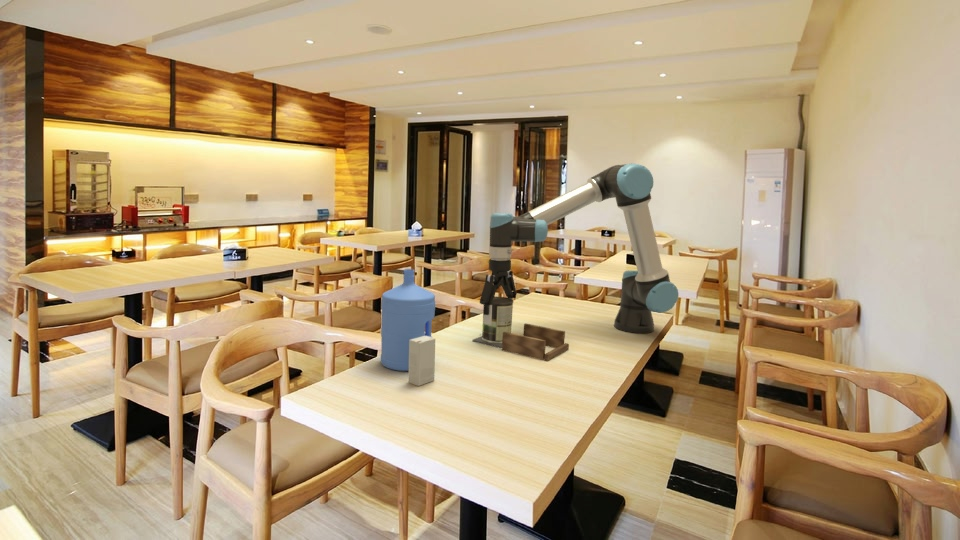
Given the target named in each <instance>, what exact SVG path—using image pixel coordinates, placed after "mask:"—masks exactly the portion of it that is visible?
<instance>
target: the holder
mask: <svg viewBox="0 0 960 540" xmlns="http://www.w3.org/2000/svg"><path fill="white" fill-rule="evenodd" d="M565 336H566V331H565V330H560V329H557V328H556V329H555V328H550V327H545V326H540V325H535V324H532V323H531V324H530V323H524V324H523V335H522V334H516V333H512V332H511V333H508V332H503V339H502V348H501V350H502V351H503V350H504V351H505V352H507V351H508V352H507V353H512V354H517V355H522V356H525V357H529V358H534V359H538V360H542V361H546V362H549V361H550V360H552V359H555V358H556V357H557V356H560V355H562V354H563V353H565V352H566V351H568V350H569V347H570V343H568V342H567V343H566V342H565V339H566V338H565ZM546 347H549V348H554V349H551V350H550V351H548V352H546Z"/></svg>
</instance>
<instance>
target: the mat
mask: <svg viewBox="0 0 960 540" xmlns="http://www.w3.org/2000/svg"><path fill="white" fill-rule="evenodd" d="M472 342H474V343H477V344H481V345H482V344H483V345H485V344H486V346H489V347H490V346H491V347H495V348H498V347H499V348H498V349H502V343H489V342H486V341H484V340H482V335H481V336H478V337H476V338H473V339H472Z"/></svg>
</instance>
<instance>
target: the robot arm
mask: <svg viewBox="0 0 960 540" xmlns="http://www.w3.org/2000/svg"><path fill="white" fill-rule="evenodd" d="M653 187H654V176H653V174H652V173H651V170H650V169H649V168H647V167H646V166H644V165H642V164H639V163H633V162H632V163H625V164H616V165H612V166H610V167H608V168H606V169H603V171H601V172H598V173H597V174H595V175H593V176H591V177H589V178H588V179H587V181H586V182H585V183H583V184H581V185H579V186H578V187H576V188H574V189H571V190H569V191H567V192H565V193H563V194H561V195H559V196H557V197H556V198H553V199H551V200H550V201H547V202H545V203H543V204H541V205H539V206H537V207H535V208H534V209H531V210H529V211H527V212H525V213H523V214H521V215H516V216H513V214H512V213H509V212H507V213H506V212H505V213H504V212H494V213H492V214H491V215H490V222H489V247H488V248H489V249H488V250H489V251H488V257H489V258H490V259H489V260H488V269H489V271H491V274H486V275H485V281H484V285H483V289H482V293H481V296H480V298H479V304H480V305H482V306H484V324H489V325H491V324H492V305H490V304H491V302H492V300H493V297H495V295H496V293H497V291H498V289H499V288H500V287H501V288H502V290H503V292H504V294H505V297H506V298H510V299H512V300H513V301H514V299H516V298H517V289H516V285H515V281H514V280H515V279H514V274H513V273H514V272H513V270H512V269H511V268H512V260H511V258H512V251H513V250H512V243H513V242H525V243H526V242H535V243H537V242H539V243H541V242H545V241H546V240H547V237H548V232H549V230H548V229H549V227H548V226H549V225H551V224H552V223H555V222H557V221H558V220H560V219H562V218H564V217H565V218H566V217H567V216H569V215H570V214H572V213H574V212H576V211H578V210H581V209H582V208H585V207H587V206H589V205H591V204H592V203H595V202H597V203H601V202H603V201H605V200H608V199H613V198H615V201H616V206H617V208H619V209H621V210H622V212H623V216H624V220H625V224H626V228H627V232H628V236H629V241H630V245H631V249H632V255H633V256H634V261H635V265H636V269H637V270H625V271H624V272H623V274H622V279H621V291H620V292H621V293H620V304H619V305H620V306H619V310H618V312H617V314H616V317H615V319H614V323H613V326H614V329H616V330H620V331H623V332H628V333H634V334H635V333H636V334H648V333H653V332H654V331H655V323H654V318H653V313H652V312H655V313H660V314H661V313H666V312H668V311H671V310H672V309H673V308H674V307H675V305H676V303H677V302H678V299H679V289H678V288H677V286H676V285H675V284H674V283H673V282H671V280H670V274H669V272H668V270H667V269H665V268H664V267H663V265H662V261H661V256H660V252H659V247H658V242H657V239H656V233H655V229H654V226H653V221H652V215H651V212H650V211H651V210H650V208H649V203H650V201H651V200H652V195H651V193H652V189H653Z"/></svg>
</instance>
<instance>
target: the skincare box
mask: <svg viewBox="0 0 960 540" xmlns="http://www.w3.org/2000/svg"><path fill="white" fill-rule="evenodd" d="M435 364H436V338H435V337H433V336H432V337H429V336H422V337H418V338H414V339H411V340H409V371H408V376H407V377H408V380H407V381H408V383H410V384H412V385H414V386H417V387H419V386H423V385H425V384H428V383H431V382H433V381H435V373H436V371H435V370H436V368H435V366H436V365H435Z"/></svg>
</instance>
